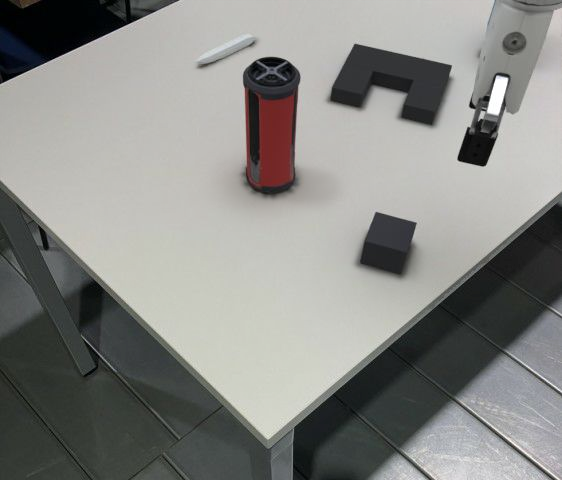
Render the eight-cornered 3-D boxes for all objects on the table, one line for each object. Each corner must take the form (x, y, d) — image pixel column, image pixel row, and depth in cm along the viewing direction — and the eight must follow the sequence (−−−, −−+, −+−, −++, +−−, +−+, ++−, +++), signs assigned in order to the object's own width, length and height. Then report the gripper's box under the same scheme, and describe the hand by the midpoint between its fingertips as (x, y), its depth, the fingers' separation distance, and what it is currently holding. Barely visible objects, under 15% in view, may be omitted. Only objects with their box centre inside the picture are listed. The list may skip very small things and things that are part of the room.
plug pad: (410, 244, 90) (417, 222, 87) (400, 274, 87) (407, 252, 84) (371, 234, 91) (375, 211, 88) (359, 262, 88) (364, 240, 85)
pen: (193, 66, 112) (192, 58, 110) (252, 38, 117) (251, 29, 115) (198, 70, 111) (198, 62, 110) (257, 41, 116) (257, 33, 115)
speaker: (235, 176, 97) (230, 68, 82) (271, 154, 100) (272, 45, 85) (270, 202, 94) (271, 95, 79) (305, 178, 97) (312, 70, 82)
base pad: (448, 78, 112) (452, 65, 110) (431, 124, 105) (435, 111, 103) (352, 56, 114) (354, 43, 112) (330, 100, 108) (331, 87, 105)
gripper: (572, 32, 51) (502, 193, 65) (580, -64, 60) (516, 97, 74) (481, 14, 52) (431, 177, 66) (502, -77, 61) (454, 84, 75)
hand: (476, 135), depth 70 cm, fingers open, 9 cm apart
